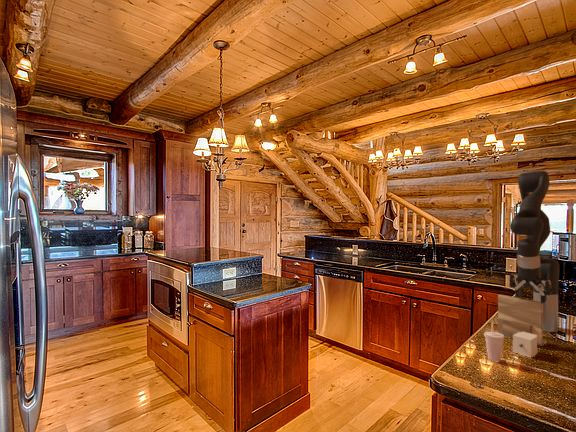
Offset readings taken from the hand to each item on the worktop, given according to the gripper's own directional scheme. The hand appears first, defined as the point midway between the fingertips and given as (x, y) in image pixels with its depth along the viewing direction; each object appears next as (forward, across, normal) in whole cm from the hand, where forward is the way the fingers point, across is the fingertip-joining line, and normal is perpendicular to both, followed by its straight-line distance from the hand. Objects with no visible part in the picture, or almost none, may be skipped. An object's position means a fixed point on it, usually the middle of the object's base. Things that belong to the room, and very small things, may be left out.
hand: (530, 299), depth 136 cm
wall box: (+14, -4, +19) cm, 23 cm away
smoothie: (+9, 0, +34) cm, 35 cm away
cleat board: (+18, +3, +5) cm, 19 cm away
